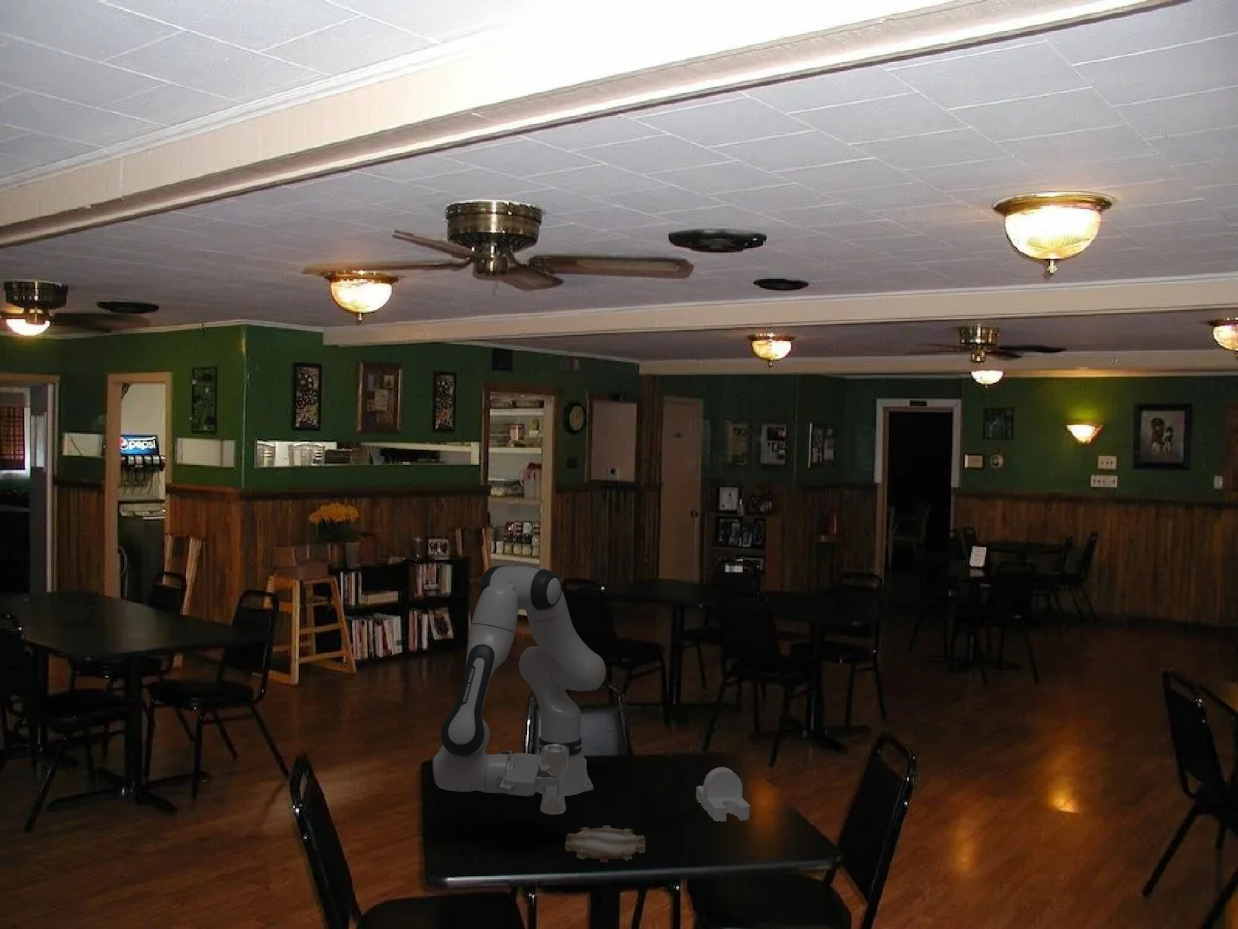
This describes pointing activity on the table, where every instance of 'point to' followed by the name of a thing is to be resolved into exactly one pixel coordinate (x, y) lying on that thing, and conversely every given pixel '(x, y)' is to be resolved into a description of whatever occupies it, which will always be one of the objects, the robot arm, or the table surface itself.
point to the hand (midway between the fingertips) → (558, 776)
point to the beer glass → (554, 765)
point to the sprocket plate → (605, 843)
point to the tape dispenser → (723, 795)
